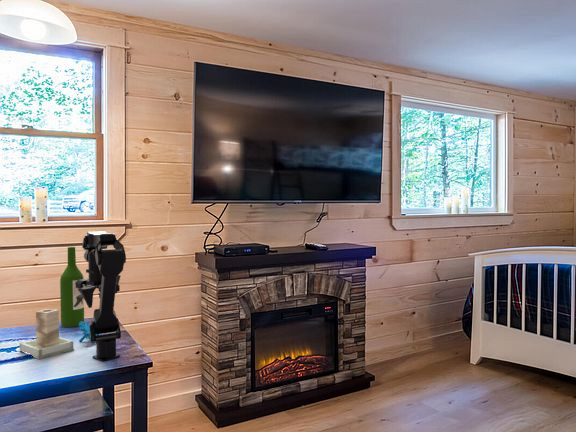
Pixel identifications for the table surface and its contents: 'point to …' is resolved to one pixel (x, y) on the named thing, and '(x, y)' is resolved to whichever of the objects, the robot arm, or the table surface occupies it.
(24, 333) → the table surface
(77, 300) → the wine bottle
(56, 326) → the maple block
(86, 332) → the gear
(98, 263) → the robot arm
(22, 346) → the sage tray
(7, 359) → the table surface
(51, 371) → the table surface
